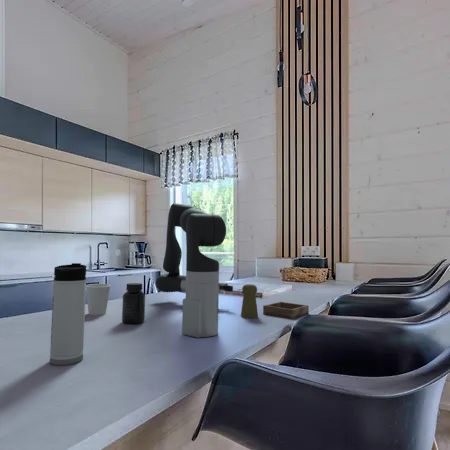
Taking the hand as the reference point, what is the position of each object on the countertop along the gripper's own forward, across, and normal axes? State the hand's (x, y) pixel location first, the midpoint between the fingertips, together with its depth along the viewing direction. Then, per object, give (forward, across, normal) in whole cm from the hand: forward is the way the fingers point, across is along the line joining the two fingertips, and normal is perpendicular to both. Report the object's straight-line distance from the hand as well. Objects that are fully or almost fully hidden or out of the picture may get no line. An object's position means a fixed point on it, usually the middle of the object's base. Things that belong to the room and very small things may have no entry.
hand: (225, 289), depth 126 cm
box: (+18, +13, +8) cm, 24 cm away
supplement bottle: (-10, -33, +8) cm, 36 cm away
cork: (+12, 0, +8) cm, 14 cm away
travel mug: (+10, -63, +8) cm, 65 cm away
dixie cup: (-30, -34, +8) cm, 46 cm away
